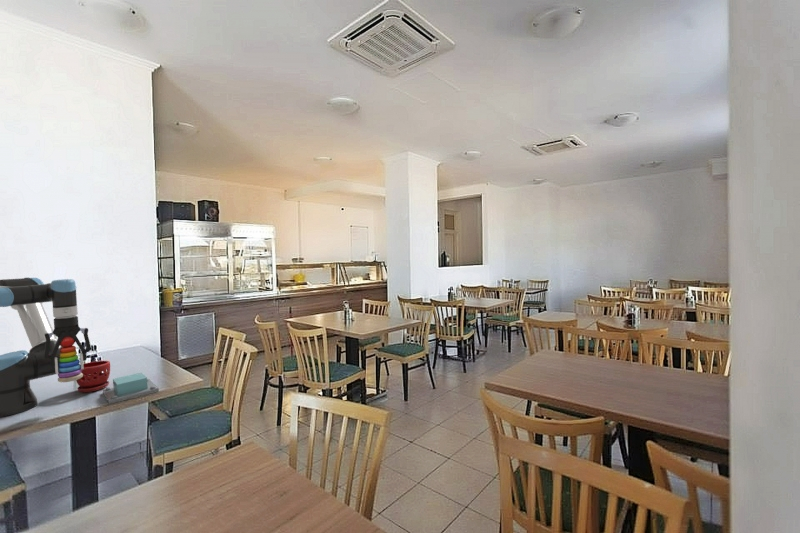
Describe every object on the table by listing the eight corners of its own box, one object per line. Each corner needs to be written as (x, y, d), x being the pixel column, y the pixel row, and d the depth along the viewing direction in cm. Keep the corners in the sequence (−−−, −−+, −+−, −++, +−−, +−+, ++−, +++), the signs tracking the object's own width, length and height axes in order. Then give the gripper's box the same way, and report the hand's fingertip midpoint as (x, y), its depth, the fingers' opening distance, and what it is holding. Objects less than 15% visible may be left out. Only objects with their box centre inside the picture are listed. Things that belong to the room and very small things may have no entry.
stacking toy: (88, 376, 160) (84, 333, 158) (70, 383, 152) (66, 338, 151) (71, 376, 160) (67, 333, 159) (52, 383, 153) (48, 338, 151)
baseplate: (109, 403, 158) (108, 388, 158) (103, 393, 171) (102, 379, 170) (158, 391, 171) (157, 377, 170) (149, 382, 183) (148, 369, 183)
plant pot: (114, 387, 178) (113, 362, 177) (79, 396, 168) (77, 370, 167) (107, 381, 186) (106, 357, 186) (73, 389, 176) (71, 364, 176)
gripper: (31, 321, 145) (36, 379, 146) (98, 314, 159) (101, 366, 160) (31, 319, 150) (36, 375, 151) (95, 312, 164) (99, 363, 166)
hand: (69, 370), depth 156 cm, fingers closed on stacking toy, 7 cm apart
